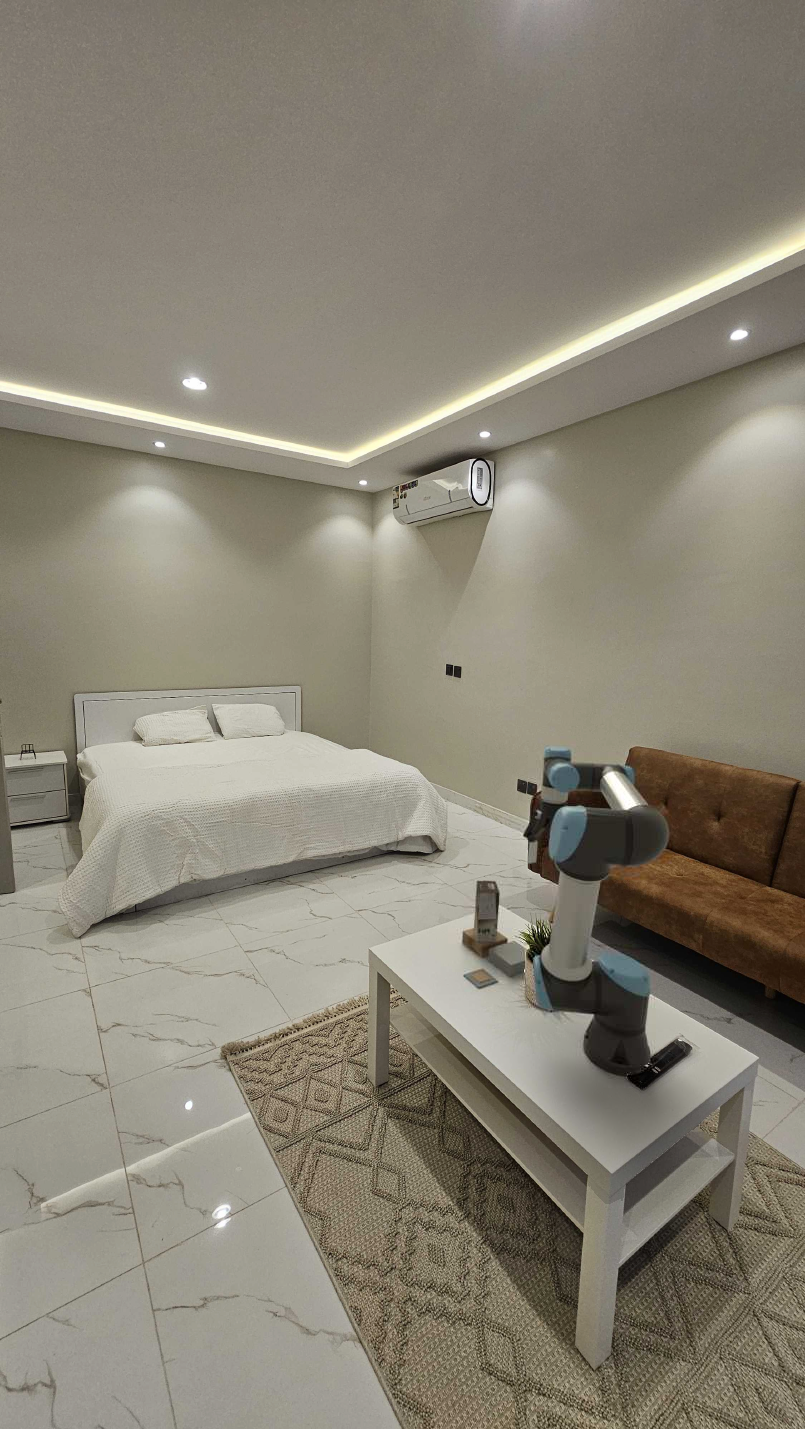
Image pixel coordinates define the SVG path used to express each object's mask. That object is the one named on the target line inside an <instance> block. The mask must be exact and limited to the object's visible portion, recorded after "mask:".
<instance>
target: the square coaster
mask: <svg viewBox="0 0 805 1429" xmlns="http://www.w3.org/2000/svg"><path fill="white" fill-rule="evenodd" d="M463 977H464V978H465V979H466V980H468V981H469V982H470V983H472V985H474V986H475V987H476V988H477V989H481V988H484V987H487V986H490V985H493V984H496V983H498V982H499V980H498V979H497V978H495V977H494V976H493V975H492V974H490V973H489V972H488V971H487V970H485V968H480V969H476V970H473V971H469V972H467V973H464V974H463Z"/></svg>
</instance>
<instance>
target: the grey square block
mask: <svg viewBox="0 0 805 1429" xmlns="http://www.w3.org/2000/svg"><path fill="white" fill-rule="evenodd" d="M526 949H527V948H525V947H524V946H522V945H521V944H520V943H519V942H517V941H516V940H513V941H508V942H507V943H506V944H502V945H499V946H496V947H492V948H489V956H488V957H487V958H488V959H487V960H488V962H489V963H490V964H492V965H493V966H494V967H496V968H497V969H498V970H500V971H501V973H503V974H505V975H506V976H507V977H508V978H510V979H511V978H513V977H517V976H520V975H522V974H525V973H524V969H525V950H526Z"/></svg>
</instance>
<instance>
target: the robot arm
mask: <svg viewBox="0 0 805 1429" xmlns="http://www.w3.org/2000/svg"><path fill="white" fill-rule="evenodd" d="M542 759H543V769H542V782H541V783H542V784H541V791H540V792H541V794H540V798H541V800H540V809H538V810H533V811H532V816H531V818H530V821H529V823H528V824H527V827H526V829H525V830H524V832H523V838H526V839H527V851H528V857H527V863H528V864H533V863H534V864H535V863H537V858H538V856H537V854H538V844H539V843H538V838H539V837H540V836H541V835H542V834H543V832H544V831H547V832H549V839H548V840H549V841H548V854H549V857H550V859H551V860H552V861H554V864H555V868H556V869H557V870H558V871H559V877H558V884H557V892H556V898H555V905H554V913H553V920H552V925H551V934H550V938H549V939H550V940H549V944H547V945H545V947H544V948H542V951H541V953H540V954H539V955H538V954H537V955H535V957H534V958H533V968H534V970H533V978H534V980H533V982H534V993H535V1001H536V1003H537V1005H538V1007H540V1008H541V1009H544V1010H547V1011H548V1010H549V1011H553V1012H562V1013H563V1012H566V1013H574V1014H575V1013H576V1014H586V1015H593V1016H592V1018H591V1020H590V1022H589V1024H588V1026H587V1028H586V1029H585V1030H586V1031H585V1032H584V1036H583V1041H582V1044H583V1045H582V1047H583V1052H584V1053H585V1055H586V1056H587V1057H588V1059H589V1060H590V1061H591V1062H592V1063H593V1064H595V1066H598V1068H601V1069H602V1070H604V1071H606V1072H608V1073H611V1074H614V1075H617V1076H623V1075H624V1076H623V1077H627V1076H626V1075H627V1074H629V1073H630V1072H633V1071H635V1070H638V1069H640V1068H641V1067H643V1066H644V1065H646V1064H648V1063H649V1062H650V1063H651V1056H652V1055H651V1050H650V1049H651V1048H650V1046H649V1042H648V1037H647V1033H646V1025H647V1020H648V1019H647V1017H648V1009H649V999H650V995H651V975H650V974H649V972H648V970H647V968H646V967H644V965H643V964H642V963H640V962H639V961H637V960H635V959H633V958H631V957H630V956H627V955H625V954H622V953H618V952H605V953H602V954H601V955H600V956H599V957H598V960H597V961H596V960H595V961H594V960H592V958H591V957H590V955H589V950H590V949H589V948H590V943H591V938H592V937H591V936H592V931H593V927H594V921H595V914H596V910H597V904H598V899H599V891H600V887H601V882H602V881H603V880H606V879H607V878H608V877H609V875H610V873H611V870H612V867H613V866H614V867H627V868H634V867H641V866H645V865H647V864H649V863H651V862H653V861H655V860H656V859H657V858H659V857H660V856H661V854H662V853H663V852H664V851H665V849H666V848H667V846H668V842H669V838H670V829H669V824H668V822H667V820H666V818H665V817H664V815H663V814H662V813H661V812H660V810H658V809H657V808H656V807H654V806H653V805H649V804H648V802H647V801H646V800H645V798H644V797H643V796H642V795H641V794H640V792H639V791H638V790H637V789H636V787H635V773H634V770H633V767H631V766H630V765H622V764H619V763H618V764H613V763H612V764H610V763H593V762H592V763H591V762H575V761H572V750H571V749H569V748H567V747H561V746H548V747H546V748H545V749H544V755H543V758H542ZM572 791H585V792H587V791H588V792H599V793H600V792H601V794H602V795H603V796H604V798H605V800H606V802H607V803H608V805H609V807H610V808H601V807H585V806H583V805H576V806H574V805H573V806H572V805H571V806H569V805H568V802H567V801H568V798H569V797H568V796H569V793H570V792H571V793H572ZM540 820H541V822H540Z"/></svg>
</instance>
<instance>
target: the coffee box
mask: <svg viewBox="0 0 805 1429" xmlns="http://www.w3.org/2000/svg"><path fill="white" fill-rule="evenodd" d="M500 894H501V893H500V890H499V887H498V884H497V881H495V880H476V890H475V907H474V918H473V919H474V921H473V928H474V931H475V936H476V941H481V942H496V938H497V931H498V923H499V922H498V921H499V910H500V909H499V907H500V896H501V895H500Z"/></svg>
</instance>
